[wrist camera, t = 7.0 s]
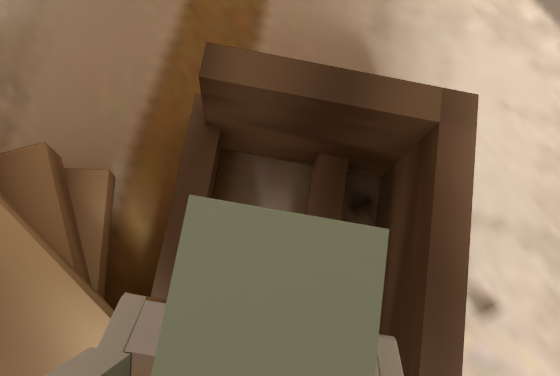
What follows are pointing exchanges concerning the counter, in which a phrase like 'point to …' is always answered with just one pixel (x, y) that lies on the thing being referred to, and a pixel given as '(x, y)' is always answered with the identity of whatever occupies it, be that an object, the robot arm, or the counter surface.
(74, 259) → the teak offcut middle
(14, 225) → the ash offcut top
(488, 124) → the counter surface
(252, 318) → the sage foam brick
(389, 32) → the counter surface
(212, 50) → the walnut rack
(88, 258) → the oak offcut low
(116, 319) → the robot arm
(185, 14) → the counter surface
